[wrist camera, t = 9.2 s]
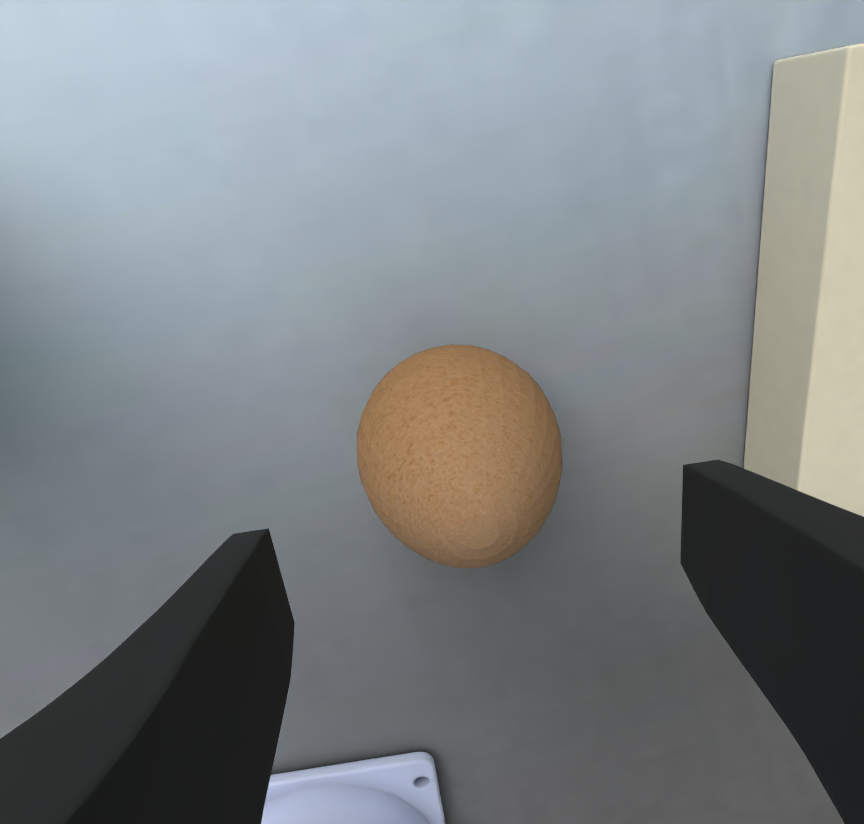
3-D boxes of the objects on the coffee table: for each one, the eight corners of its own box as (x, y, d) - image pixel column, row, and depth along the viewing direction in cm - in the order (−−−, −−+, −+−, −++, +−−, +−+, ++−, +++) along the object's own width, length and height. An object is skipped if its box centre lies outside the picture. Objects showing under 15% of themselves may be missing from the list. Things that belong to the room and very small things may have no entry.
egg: (417, 284, 15) (439, 366, 10) (565, 373, 17) (657, 490, 11) (328, 431, 17) (303, 575, 11) (471, 504, 18) (512, 666, 12)
